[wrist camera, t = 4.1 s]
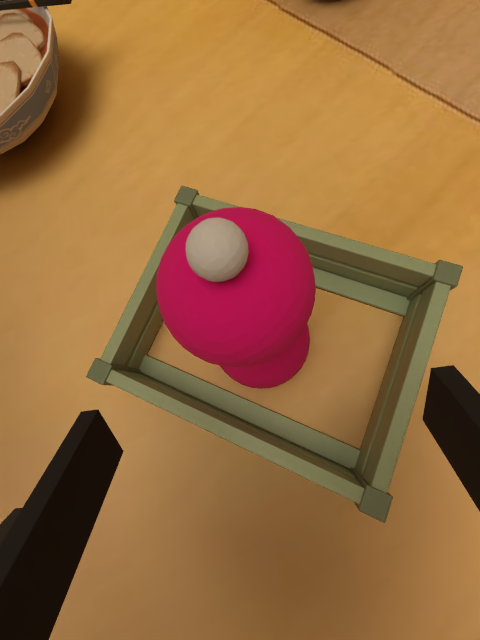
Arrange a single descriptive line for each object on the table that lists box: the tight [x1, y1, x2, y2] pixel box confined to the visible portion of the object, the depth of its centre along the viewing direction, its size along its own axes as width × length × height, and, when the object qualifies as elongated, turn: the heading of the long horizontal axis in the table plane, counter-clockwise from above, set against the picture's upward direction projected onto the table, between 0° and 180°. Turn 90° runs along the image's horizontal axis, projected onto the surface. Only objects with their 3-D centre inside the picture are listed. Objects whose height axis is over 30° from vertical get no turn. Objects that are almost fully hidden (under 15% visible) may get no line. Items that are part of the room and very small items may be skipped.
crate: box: [86, 186, 463, 523], centre depth 25 cm, size 23×18×5 cm
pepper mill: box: [156, 207, 316, 388], centre depth 17 cm, size 7×7×20 cm
